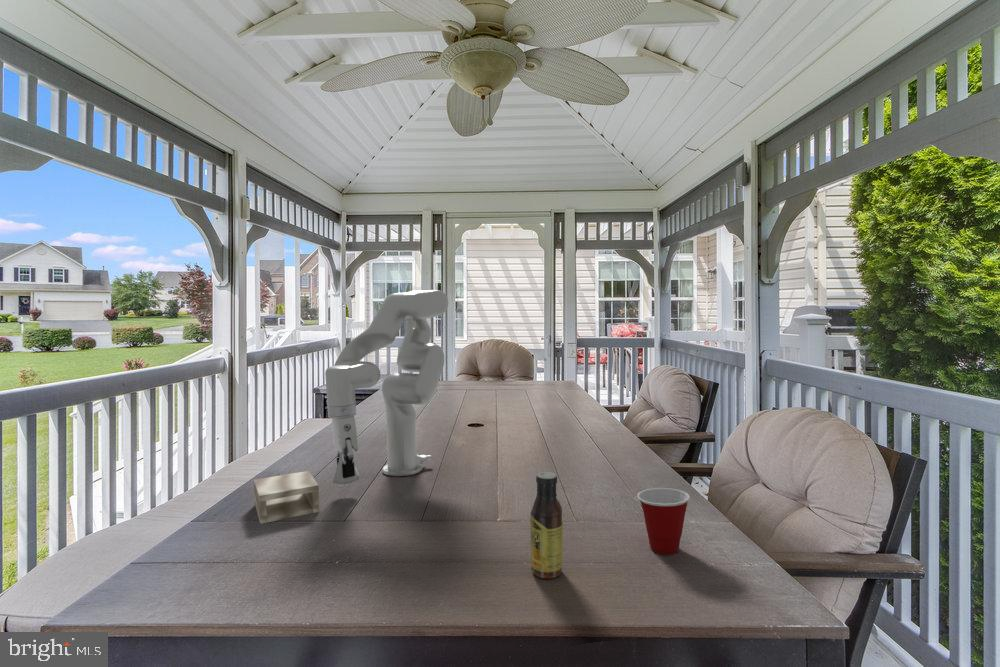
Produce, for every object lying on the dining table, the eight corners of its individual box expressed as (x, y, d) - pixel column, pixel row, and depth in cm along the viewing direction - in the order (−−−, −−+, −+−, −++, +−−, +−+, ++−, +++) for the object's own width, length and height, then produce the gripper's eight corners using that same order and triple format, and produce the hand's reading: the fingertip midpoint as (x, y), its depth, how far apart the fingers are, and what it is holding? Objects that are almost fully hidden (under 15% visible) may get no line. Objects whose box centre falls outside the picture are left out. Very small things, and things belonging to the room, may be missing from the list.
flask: (352, 485, 141) (350, 449, 140) (328, 484, 143) (325, 449, 142) (364, 475, 148) (362, 441, 147) (341, 474, 150) (338, 441, 149)
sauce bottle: (528, 565, 105) (527, 469, 104) (559, 563, 106) (558, 467, 105) (533, 582, 99) (532, 480, 98) (566, 580, 99) (565, 478, 98)
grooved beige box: (309, 495, 147) (308, 470, 146) (319, 511, 135) (318, 485, 134) (254, 505, 140) (253, 479, 139) (260, 523, 128) (259, 495, 127)
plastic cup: (649, 533, 119) (649, 481, 118) (697, 546, 112) (697, 491, 112) (628, 550, 111) (628, 495, 110) (678, 566, 104) (678, 507, 103)
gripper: (364, 414, 138) (368, 480, 140) (347, 402, 153) (351, 462, 155) (335, 418, 135) (339, 486, 136) (321, 406, 149) (325, 467, 151)
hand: (346, 473), depth 145 cm, fingers closed on flask, 5 cm apart
